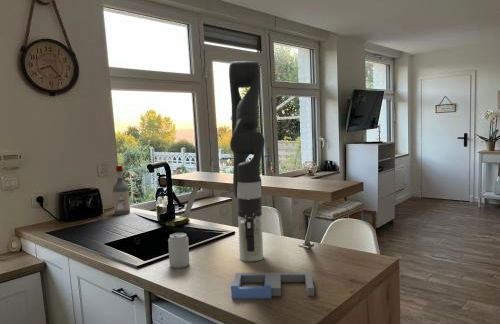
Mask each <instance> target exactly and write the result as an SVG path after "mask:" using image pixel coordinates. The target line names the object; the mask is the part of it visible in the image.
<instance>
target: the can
mask: <svg viewBox="0 0 500 324" xmlns="http://www.w3.org/2000/svg"><path fill="white" fill-rule="evenodd" d="M167 241H168V259H169V261H168V262H169V266H170V267H172V268H173V269H182V268H186V267H187V266H188V265H189V264H190V249H189V245H190V244H189V237H188V236H187V233H184V232H175V233H172V234H169V238H168V239H167Z"/></svg>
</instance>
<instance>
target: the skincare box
mask: <svg viewBox="0 0 500 324" xmlns="http://www.w3.org/2000/svg"><path fill="white" fill-rule="evenodd" d="M255 225H256V231H255V232H254V237H255V239H254V251H252V252H249V251H247V240H246V238H245V237H246V234H245V226H244V220H241V221H240V227H241V242H242V257H243V260H242V262H247V261H249V260H259V261H260V260H263V259H262V252H261V235H260V221H259V219H257V220H256V223H255ZM253 229H254V226H253ZM248 235H252V233H248Z"/></svg>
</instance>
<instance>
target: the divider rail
mask: <svg viewBox="0 0 500 324" xmlns="http://www.w3.org/2000/svg"><path fill="white" fill-rule="evenodd" d="M242 283H243V284H244V283H264V284H263V286H242ZM281 283H304V285H305V289H306V294H307V297H315V286H314V282H313V277H312V273H311V271H308V272H307V271H305V272H304V271H299V272H298V271H297V272H291V271H290V272H285V271H284V272H236V273H235V274H234V279H233V283H231V285H230V289H231V299H233V300H234V299H238V300H239V299H241V300H242V299H272V297H281V296H282V284H281Z"/></svg>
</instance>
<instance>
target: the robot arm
mask: <svg viewBox="0 0 500 324" xmlns="http://www.w3.org/2000/svg"><path fill="white" fill-rule="evenodd" d="M228 68H229V69H228V80H229V89H230V101H231V136H230V141H229V145H230V146H229V147H230V150H231V152H232V153H233V172H232V174H233V175H232V177H233V178H232V181H233V182H232V185H233V186H232V190H233V195H234V198H236V199H237V215H238V216H237V217H238V218H237V219H238V221H237V222H238V240H239V241H238V245H239V246H238V247H239V248H238V249H239V259H240V260H241V261H243V257H242V242H241V227H240V221H241V220H244V226H245V234H246V237H245V238H246V240H247V251H249V252H252V251H254V239H255V237H254V232H255V231H256V225H255V223H256V220H257V219H259V221H260V235H261V252H262V260H263V259H264V243H263V240H264V239H263V215H262V214H263V213H262V212H263V211H262V209H263V208H262V201H263V200H262V178H261V174H260V173H261V172H260V171H261V169H260V168H261V159H262V155H263V152H264V146H265V137H264V135H263V133H261V132H259V131H258V126H259V119H258V105H259V104H258V103H259V96H260V89H261V88H260V86H261V68H260V64H259V63H258V61H254V60H244V61H243V60H242V61H236V60H235V61H231V62H230V64H229V67H228ZM240 88H241V89H243V88H249V89H248V91H247V92H246V93H245V95H244V96H243V97H241V93H240ZM249 155H250V156H251V155H253V157H252V158H251V159H250V160H247V159H248V158H249ZM253 226H254V229H253ZM248 233H252V235H248ZM258 261H260V260H249V261H246V262H248V263H249V262H252V263H253V262H258Z"/></svg>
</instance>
